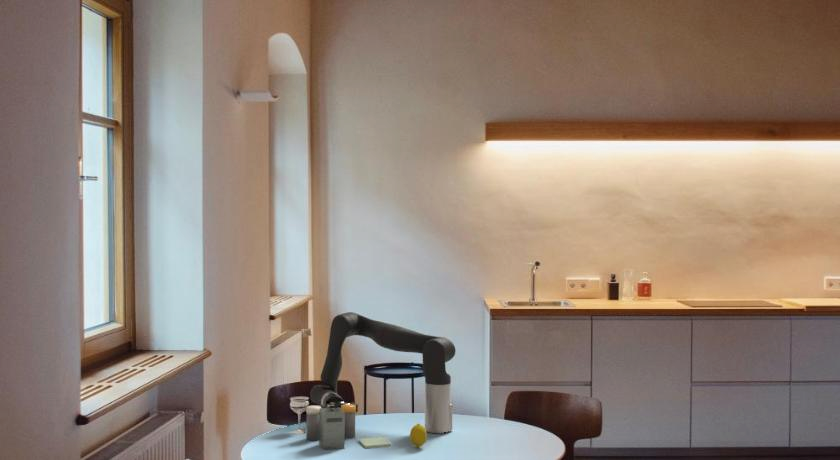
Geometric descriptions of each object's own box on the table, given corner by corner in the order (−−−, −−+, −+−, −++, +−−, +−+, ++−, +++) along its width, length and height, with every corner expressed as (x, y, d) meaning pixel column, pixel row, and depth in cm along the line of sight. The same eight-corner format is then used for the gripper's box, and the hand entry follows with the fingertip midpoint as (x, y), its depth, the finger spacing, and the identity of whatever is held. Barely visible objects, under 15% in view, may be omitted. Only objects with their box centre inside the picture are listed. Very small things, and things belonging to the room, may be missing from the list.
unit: (339, 442, 265) (339, 405, 265) (344, 448, 257) (345, 410, 257) (319, 444, 262) (319, 406, 262) (323, 450, 255) (324, 411, 255)
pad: (383, 439, 269) (383, 437, 269) (391, 446, 261) (391, 443, 261) (358, 441, 266) (358, 439, 266) (365, 448, 258) (365, 445, 258)
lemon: (424, 450, 256) (425, 426, 256) (408, 449, 257) (408, 425, 257) (428, 446, 261) (428, 422, 261) (411, 445, 262) (412, 421, 262)
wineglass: (312, 432, 279) (313, 398, 279) (297, 435, 274) (298, 401, 274) (300, 428, 283) (300, 395, 283) (285, 432, 278) (286, 398, 278)
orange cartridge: (353, 435, 275) (353, 403, 275) (356, 438, 270) (357, 406, 270) (339, 436, 273) (339, 404, 273) (342, 439, 269) (343, 407, 269)
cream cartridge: (319, 436, 272) (319, 405, 272) (322, 440, 267) (322, 408, 267) (304, 437, 270) (305, 406, 271) (307, 441, 266) (307, 409, 266)
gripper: (313, 394, 295) (322, 403, 279) (350, 392, 299) (361, 400, 284) (313, 414, 294) (322, 424, 279) (350, 411, 299) (361, 421, 284)
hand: (342, 412), depth 281 cm, fingers open, 8 cm apart
